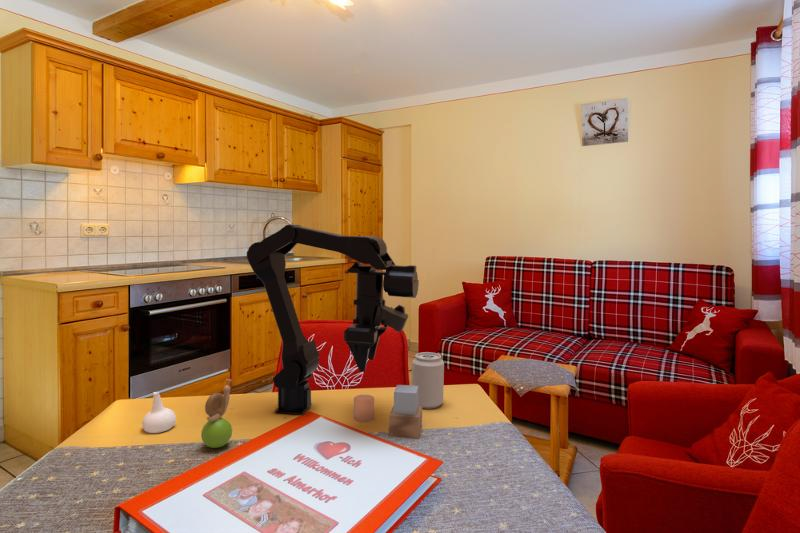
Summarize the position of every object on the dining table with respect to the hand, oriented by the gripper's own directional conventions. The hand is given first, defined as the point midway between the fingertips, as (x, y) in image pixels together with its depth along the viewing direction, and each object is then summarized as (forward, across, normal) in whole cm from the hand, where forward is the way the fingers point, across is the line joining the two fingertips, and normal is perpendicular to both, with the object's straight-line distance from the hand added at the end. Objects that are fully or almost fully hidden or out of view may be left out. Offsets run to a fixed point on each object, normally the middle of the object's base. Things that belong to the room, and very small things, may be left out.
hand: (366, 365), depth 102 cm
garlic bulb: (+13, -13, +40) cm, 44 cm away
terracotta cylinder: (+12, 0, 0) cm, 12 cm away
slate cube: (+7, -5, -10) cm, 13 cm away
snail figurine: (+12, -18, +24) cm, 33 cm away
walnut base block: (+12, -5, -10) cm, 16 cm away
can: (+12, +11, -13) cm, 20 cm away
